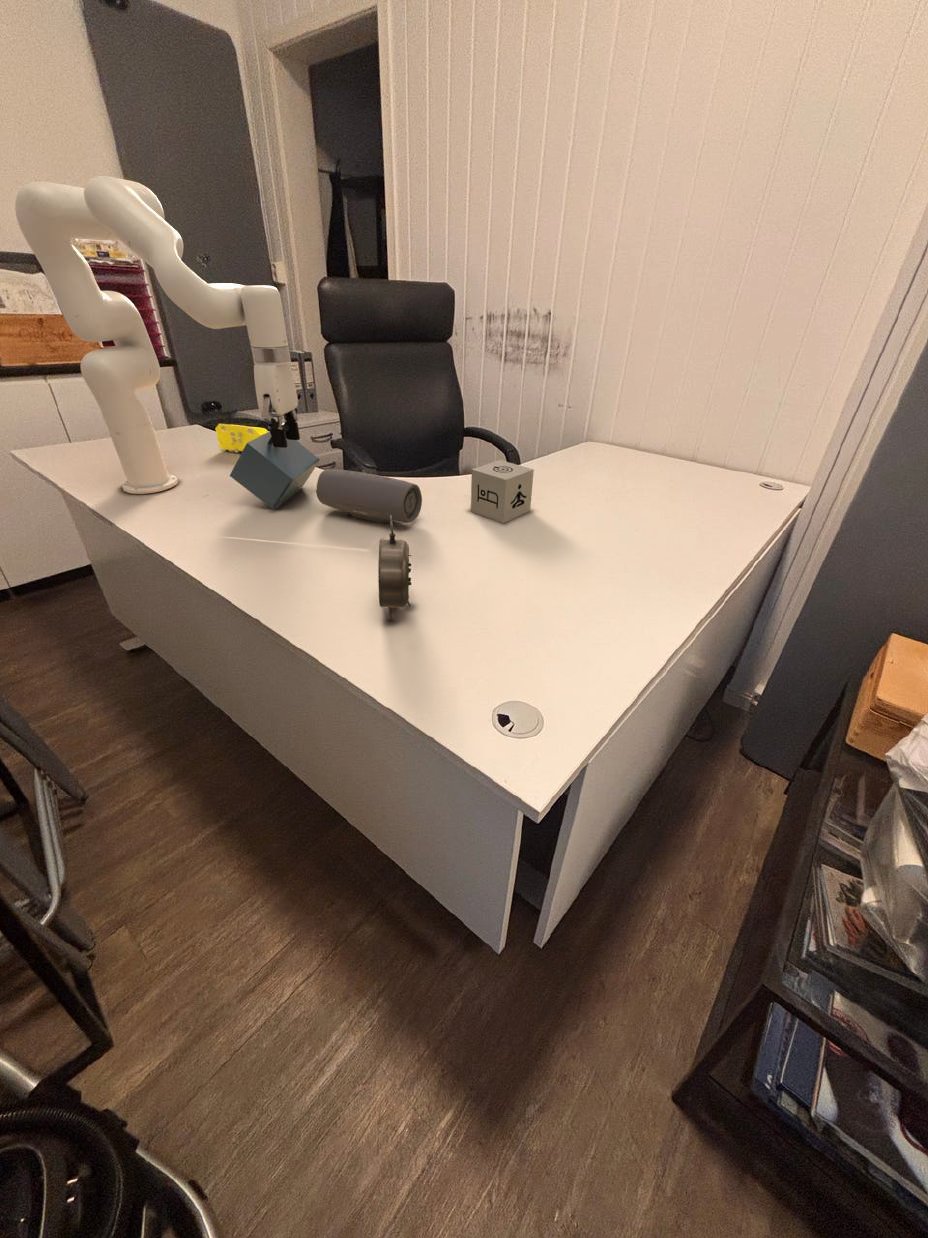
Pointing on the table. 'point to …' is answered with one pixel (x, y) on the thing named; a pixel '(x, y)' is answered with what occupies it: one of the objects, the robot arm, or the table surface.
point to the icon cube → (501, 490)
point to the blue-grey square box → (274, 468)
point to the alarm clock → (393, 572)
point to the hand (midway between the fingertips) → (287, 442)
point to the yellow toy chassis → (237, 436)
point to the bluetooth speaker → (369, 495)
